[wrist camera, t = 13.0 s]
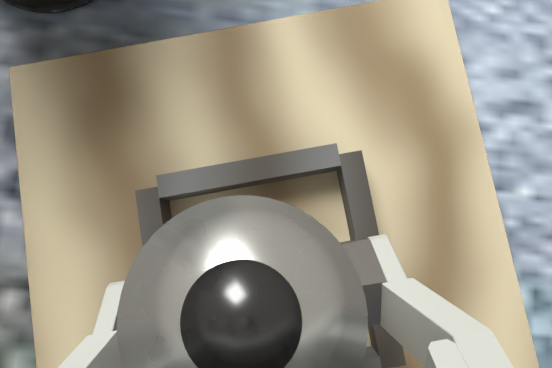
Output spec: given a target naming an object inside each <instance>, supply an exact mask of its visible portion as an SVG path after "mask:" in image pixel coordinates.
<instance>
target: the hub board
mask: <svg viewBox="0 0 552 368" xmlns="http://www.w3.org/2000/svg"><path fill="white" fill-rule="evenodd" d="M9 77H10V87H11V98H12V109H13V119H14V130H15V141H16V151H17V162H18V173H19V183H20V194H21V205H22V216H23V226H24V237H25V248H26V258H27V269H28V280H29V290H30V301H31V312H32V323H33V333H34V344H35V355H36V365H37V368H58V367H59V366H60V365H61V364H62V363H63V361H64V360H65V359H66V358H67V357H68V356H69V355H70V354H71V353H72V352H73V351H74V349H75V348H76V347H77V346H78V345H79V344H80V343H81V342H82V341H83V340H84V339H85V337H86V336H88V335H92V334H93V331H94V327H95V324H96V321H97V317H98V314H99V311H100V307H101V304H102V300H103V297H104V294H105V290H106V288H107V286H108V285H109V284H110V283H113V282H119V281H125V279H126V276H127V274H128V272H129V270H130V268H131V265H132V263H133V261H134V260H135V258H136V256H137V255H138V253H139V252H140V250H141V249H142V247H143V246H144V245H145V244H146V242H147V241H148V240H149V239H150V237H151V236H152V235H153V234H154V233H155V232H156V231H157V230H158V229H159V228H160V227H162V226H163V225H164V224H165V223H166V222H168V221H169V220H170V219H172V218H173V217H174V216H176V215H177V214H179V213H181V212H183V211H184V210H186V209H188V208H190V207H192V206H194V205H197V204H200V203H202V202H205V201H208V200H212V199H216V198H220V197H227V196H236V195H248V196H259V197H266V198H271V199H274V200H278V201H281V202H285V203H287V204H289V205H291V206H294V207H296V208H298V209H300V210H302V211H303V212H305V213H307V214H308V215H310V216H312V217H313V218H315V219H316V220H317V221H318V222H320V223H321V224H322V225H323V226H325V227H326V228H327V229H328V230H329V231H330V232H331V233H332V234H333V235H334V237H335V238H336V239H337V240H338V241H339V242H344V241H350V240H355V239H360V238H365V237H367V238H368V237H372V236H377V235H383V234H385V235H387V236H388V238H389V240H390V242H391V244H392V247H393V249H394V251H395V253H396V255H397V257H398V259H399V261H400V264H401V266H402V268H403V270H404V272H405V274H406V276H407V278H414V279H415V280H417V281H418V282H420V283H421V284H423V285H424V286H426V287H427V288H429V289H430V290H432V291H433V292H435V293H436V294H438V295H439V296H441V297H442V298H444V299H445V300H447V301H448V302H450V303H451V304H453V305H454V306H456V307H457V308H459V309H460V310H462V311H463V312H465V313H466V314H468V315H469V316H471V317H472V318H474V319H475V320H477V321H478V322H480V323H481V324H483V325H484V326H486V327H487V328H489V329H490V330H491V331H492V332H493V334H494V336H495V337H496V339H497V341H498V342H499V344H500V346H501V347H502V349H503V351H504V352H505V354H506V356H507V357H508V359H509V361H510V362H511V364H512V366H513V367H514V368H539V364H538V360H537V356H536V352H535V348H534V344H533V340H532V336H531V332H530V328H529V324H528V320H527V316H526V312H525V308H524V304H523V300H522V296H521V292H520V288H519V284H518V280H517V276H516V272H515V268H514V264H513V260H512V256H511V252H510V248H509V244H508V240H507V236H506V232H505V228H504V224H503V220H502V216H501V212H500V208H499V204H498V200H497V195H496V191H495V187H494V183H493V179H492V175H491V171H490V167H489V163H488V159H487V155H486V151H485V147H484V143H483V139H482V135H481V131H480V127H479V123H478V119H477V115H476V111H475V107H474V103H473V99H472V95H471V91H470V87H469V83H468V79H467V75H466V71H465V67H464V63H463V59H462V55H461V51H460V47H459V43H458V39H457V35H456V31H455V27H454V23H453V19H452V15H451V11H450V7H449V3H448V0H379V1H374V2H368V3H363V4H357V5H352V6H346V7H341V8H335V9H330V10H324V11H318V12H313V13H307V14H302V15H296V16H291V17H285V18H280V19H274V20H269V21H263V22H258V23H252V24H246V25H241V26H235V27H230V28H224V29H219V30H213V31H208V32H202V33H197V34H191V35H186V36H180V37H174V38H169V39H163V40H158V41H152V42H147V43H141V44H136V45H130V46H125V47H119V48H114V49H108V50H102V51H97V52H91V53H86V54H80V55H75V56H69V57H64V58H58V59H53V60H47V61H42V62H36V63H30V64H25V65H19V66H14V67H9ZM361 368H424V366H423V365H422V364H421V363H420V362H419V361H418V360H417V359H415V358H414V357H413V356H412V355H411V354H410V353H409V352H408V351H407V350H406V349H405V348H404V347H403V346H402V345H401V344H400V343H399V342H398V341H397V340H395V339H394V338H393V337H392V336H391V335H390V334H389V333H388V332H387V331H386V330H385V329H384V328H383V327H382V326H381V325H380V324H375V325H368V337H367V345H366V352H365V356H364V360H363V364H362V367H361Z"/></svg>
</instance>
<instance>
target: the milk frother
mask: <svg viewBox="0 0 552 368" xmlns="http://www.w3.org/2000/svg"><path fill="white" fill-rule="evenodd" d="M4 1H6V2H8V3H10V4H12V5H13V6H16V7H18V8H22V9H25V10H29V11H34V12H47V13H48V12H60V11H64V10H68V9H71V8H74V7H78V6H81V5H83V4H85V3H87V2H89V1H91V0H4Z"/></svg>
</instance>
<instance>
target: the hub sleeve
mask: <svg viewBox="0 0 552 368" xmlns="http://www.w3.org/2000/svg"><path fill="white" fill-rule="evenodd" d="M367 337H368V313H367V305H366V298H365V294H364V291H363V287H362V283H361V280H360V278H359V275H358V273H357V271H356V268H355V266H354V264H353V262H352V261H351V259H350V257H349V255H348V254H347V252H346V251H345V249H344V248H343V247H342V245H341V244H340V242H339V241H338V240H337V239H336V238H335V237H334V235H333V234H332V233H331V232H330V231H329V230H328V229H327V228H326V227H325V226H323V225H322V224H321V223H320V222H318V221H317V220H316V219H315V218H313V217H312V216H310V215H308V214H307V213H305V212H303V211H302V210H300V209H298V208H296V207H294V206H291V205H289V204H287V203H285V202H281V201H278V200H274V199H271V198H266V197H259V196H248V195H236V196H227V197H220V198H216V199H212V200H208V201H205V202H202V203H200V204H197V205H194V206H192V207H190V208H188V209H186V210H184V211H183V212H181V213H179V214H177V215H176V216H174V217H173V218H172V219H170V220H169V221H168V222H166V223H165V224H164V225H163V226H162V227H160V228H159V229H158V230H157V231H156V232H155V233H154V234H153V235H152V236H151V237H150V239H149V240H148V241H147V242H146V244H145V245H144V246H143V247H142V249H141V250H140V252H139V253H138V255H137V256H136V258H135V260H134V261H133V263H132V265H131V268H130V270H129V272H128V274H127V276H126V279H125V282H124V285H123V288H122V291H121V295H120V301H119V306H118V314H117V339H118V347H119V352H120V358H121V362H122V365H123V368H361V367H362V364H363V360H364V356H365V352H366V345H367Z"/></svg>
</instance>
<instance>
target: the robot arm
mask: <svg viewBox="0 0 552 368" xmlns="http://www.w3.org/2000/svg"><path fill="white" fill-rule="evenodd" d="M340 244H341V245H342V247H343V248H344V249H345V251H346V252H347V254H348V255H349V257H350V259H351V261H352V262H353V264H354V266H355V268H356V271H357V273H358V275H359V278H360V280H361V283H362V287H363V291H364V294H365V298H366V305H367V313H368V325H375V324H380V325H381V326H382V327H383V328H384V329H385V330H386V331H387V332H388V333H389V334H390V335H391V336H392V337H393V338H394V339H395V340H397V341H398V342H399V343H400V344H401V345H402V346H403V347H404V348H405V349H406V350H407V351H408V352H409V353H410V354H411V355H412V356H413V357H414V358H415V359H417V360H418V361H419V362H420V363H421V364H422V365H423V366H424V368H514V367H513V366H512V364H511V362H510V361H509V359H508V357H507V356H506V354H505V352H504V351H503V349H502V347H501V346H500V344H499V342H498V341H497V339H496V337H495V336H494V334H493V332H492V331H491V330H490V329H489V328H487V327H486V326H484V325H483V324H481V323H480V322H478V321H477V320H475V319H474V318H472V317H471V316H469V315H468V314H466V313H465V312H463V311H462V310H460V309H459V308H457V307H456V306H454V305H453V304H451V303H450V302H448V301H447V300H445V299H444V298H442V297H441V296H439V295H438V294H436V293H435V292H433V291H432V290H430V289H429V288H427V287H426V286H424V285H423V284H421V283H420V282H418V281H417V280H415V279H414V278H407V276H406V274H405V272H404V270H403V268H402V266H401V264H400V261H399V259H398V257H397V255H396V253H395V251H394V249H393V247H392V244H391V242H390V240H389V238H388V236H387V235H385V234H383V235H377V236H372V237H368V238H367V237H365V238H360V239H355V240H350V241H344V242H340ZM124 282H125V281H119V282H113V283H110V284H109V285H108V286H107V288H106V290H105V294H104V297H103V300H102V304H101V307H100V311H99V314H98V317H97V321H96V324H95V327H94V331H93V334H92V335H88V336H86V337H85V339H84V340H83V341H82V342H81V343H80V344H79V345H78V346H77V347H76V348H75V349H74V351H73V352H72V353H71V354H70V355H69V356H68V357H67V358H66V359H65V360H64V361H63V363H62V364H61V365H60V366H59V367H58V368H123V365H122V362H121V358H120V352H119V347H118V339H117V314H118V306H119V301H120V295H121V291H122V288H123V285H124Z"/></svg>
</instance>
